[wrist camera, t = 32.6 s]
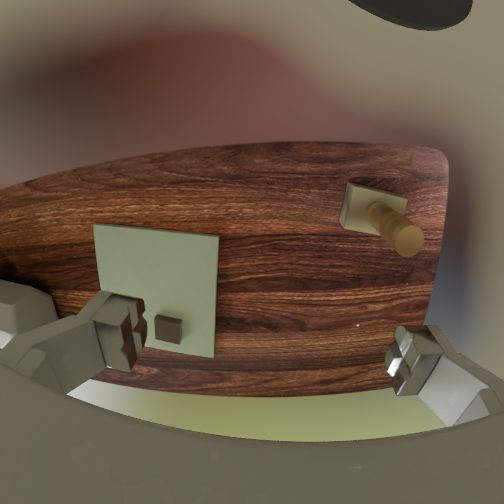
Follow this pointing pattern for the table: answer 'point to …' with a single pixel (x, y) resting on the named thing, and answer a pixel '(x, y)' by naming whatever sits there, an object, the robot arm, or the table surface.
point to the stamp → (381, 217)
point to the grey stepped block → (23, 310)
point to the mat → (164, 279)
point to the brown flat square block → (168, 329)
